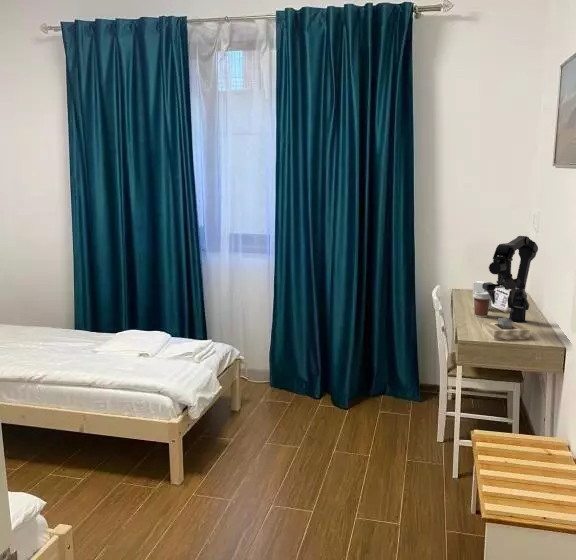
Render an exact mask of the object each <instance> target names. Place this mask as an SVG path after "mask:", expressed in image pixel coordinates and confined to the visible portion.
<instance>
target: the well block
mask: <svg viewBox="0 0 576 560" xmlns="http://www.w3.org/2000/svg"><path fill="white" fill-rule="evenodd" d="M481 325H482V327H481V332H482V334H483V333H484V334H485V335H486V336H487V337H489V338H491V339H492V340H493V341H495V340H496V341H501V340H502V339H506V340H529V339H530V333H531V332H530V329H528V328H527V327H525V326H524V325H522V324H520V323H519V322H513V321H512V329H507V330H502V329H501V328H499V327H498V322H482V324H481ZM502 341H503V340H502Z"/></svg>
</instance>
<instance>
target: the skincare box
mask: <svg viewBox="0 0 576 560" xmlns="http://www.w3.org/2000/svg"><path fill="white" fill-rule="evenodd" d="M487 282H488V281H486V280H485V281H483V280H477V281H472V296H473V295H474V294H475V292H488V291H486V290H485V289H483V288H482V285H483V283H487ZM472 309H474V298H473V297H472ZM489 309H490V310H492V300H491V299H490V301H489V308H488V311H490V310H489Z"/></svg>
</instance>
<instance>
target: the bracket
mask: <svg viewBox="0 0 576 560" xmlns="http://www.w3.org/2000/svg"><path fill="white" fill-rule="evenodd" d="M512 322H513V321H511V320H510V319H509V318H508V317H497V323H498V327H499V328H501V329H502V330H507V329H512Z"/></svg>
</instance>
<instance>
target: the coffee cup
mask: <svg viewBox="0 0 576 560" xmlns="http://www.w3.org/2000/svg"><path fill="white" fill-rule="evenodd" d="M473 298H474V308H473V309H474V310H473V311H474V317H477V318H487V317H488V314H489V310H488V308H489V301H490V299H491V298H490V295H489V293H488V292H475V294H474V295H473V294H472V299H473Z"/></svg>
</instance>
